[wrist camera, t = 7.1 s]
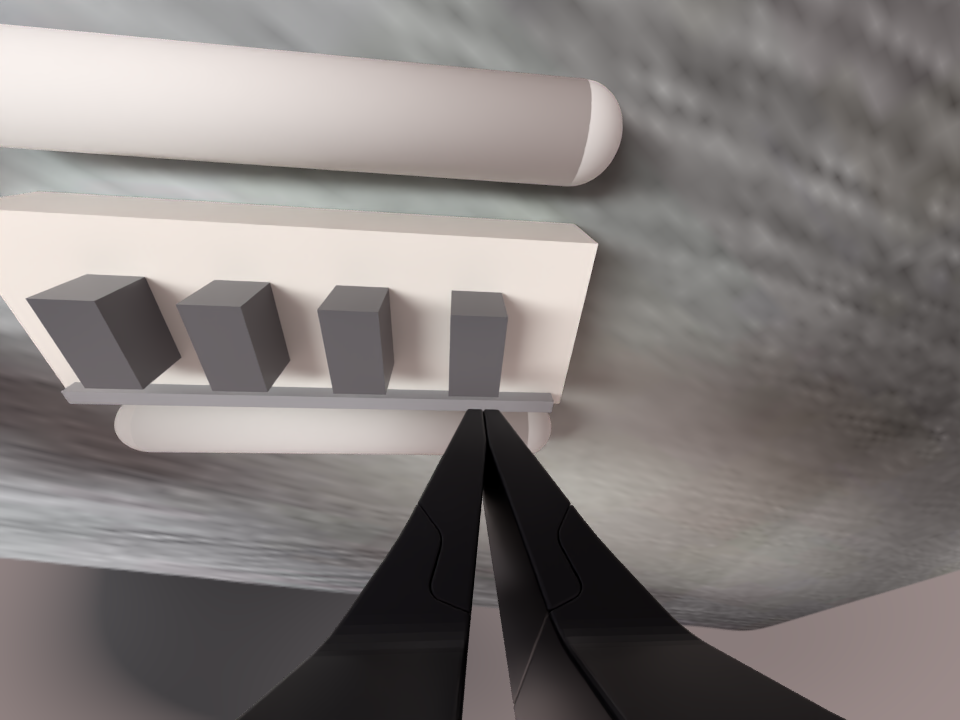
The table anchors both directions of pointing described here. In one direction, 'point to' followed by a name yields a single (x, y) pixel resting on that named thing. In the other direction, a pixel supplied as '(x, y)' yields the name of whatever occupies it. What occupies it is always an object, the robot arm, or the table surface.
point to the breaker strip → (293, 303)
